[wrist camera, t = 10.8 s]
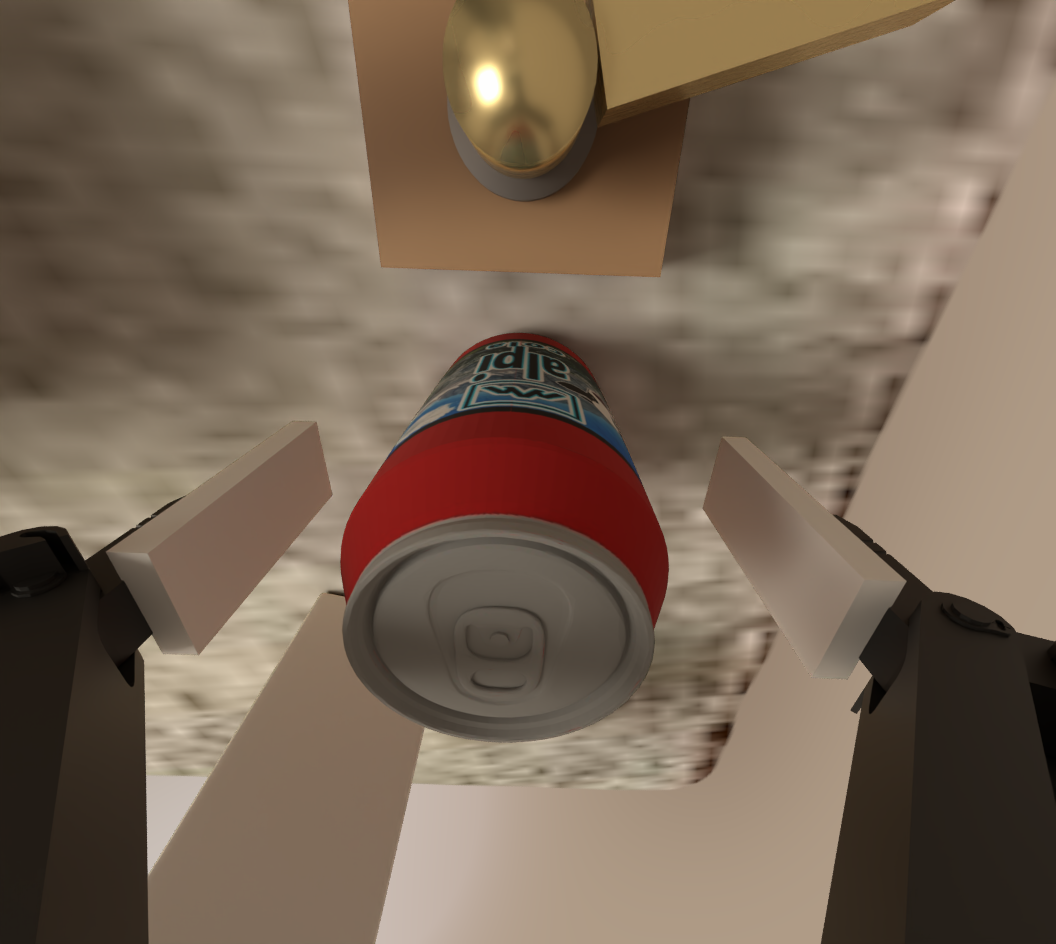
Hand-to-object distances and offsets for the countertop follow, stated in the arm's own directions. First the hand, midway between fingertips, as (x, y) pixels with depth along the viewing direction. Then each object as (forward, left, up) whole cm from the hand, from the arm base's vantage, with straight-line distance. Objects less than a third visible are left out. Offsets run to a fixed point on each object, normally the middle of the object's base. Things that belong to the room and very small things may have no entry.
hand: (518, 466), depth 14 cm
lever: (-10, +3, 0) cm, 11 cm away
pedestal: (-9, 0, -5) cm, 10 cm away
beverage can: (0, 0, -5) cm, 5 cm away
